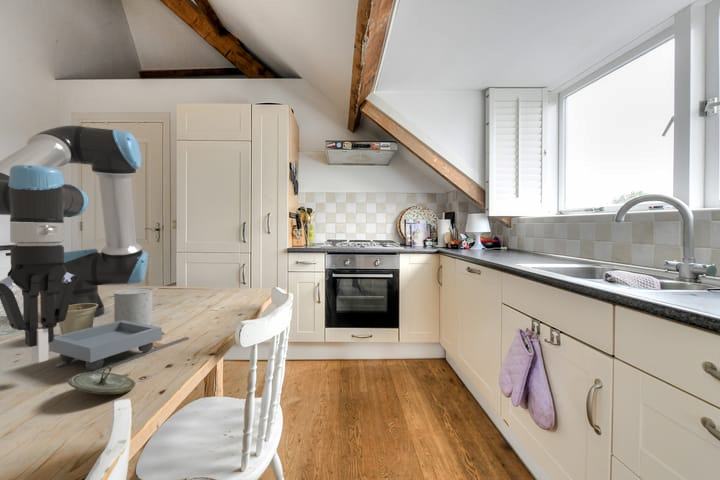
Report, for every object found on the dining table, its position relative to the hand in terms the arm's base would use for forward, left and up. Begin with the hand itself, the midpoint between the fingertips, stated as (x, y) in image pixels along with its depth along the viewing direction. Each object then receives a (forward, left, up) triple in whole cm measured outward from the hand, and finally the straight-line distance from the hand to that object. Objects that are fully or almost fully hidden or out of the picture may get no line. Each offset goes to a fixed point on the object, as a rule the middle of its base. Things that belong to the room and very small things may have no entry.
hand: (40, 359), depth 64 cm
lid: (+17, +2, -5) cm, 17 cm away
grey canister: (-15, +28, -5) cm, 32 cm away
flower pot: (-24, +18, -5) cm, 30 cm away
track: (0, +17, -4) cm, 18 cm away
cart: (0, +12, -4) cm, 13 cm away
